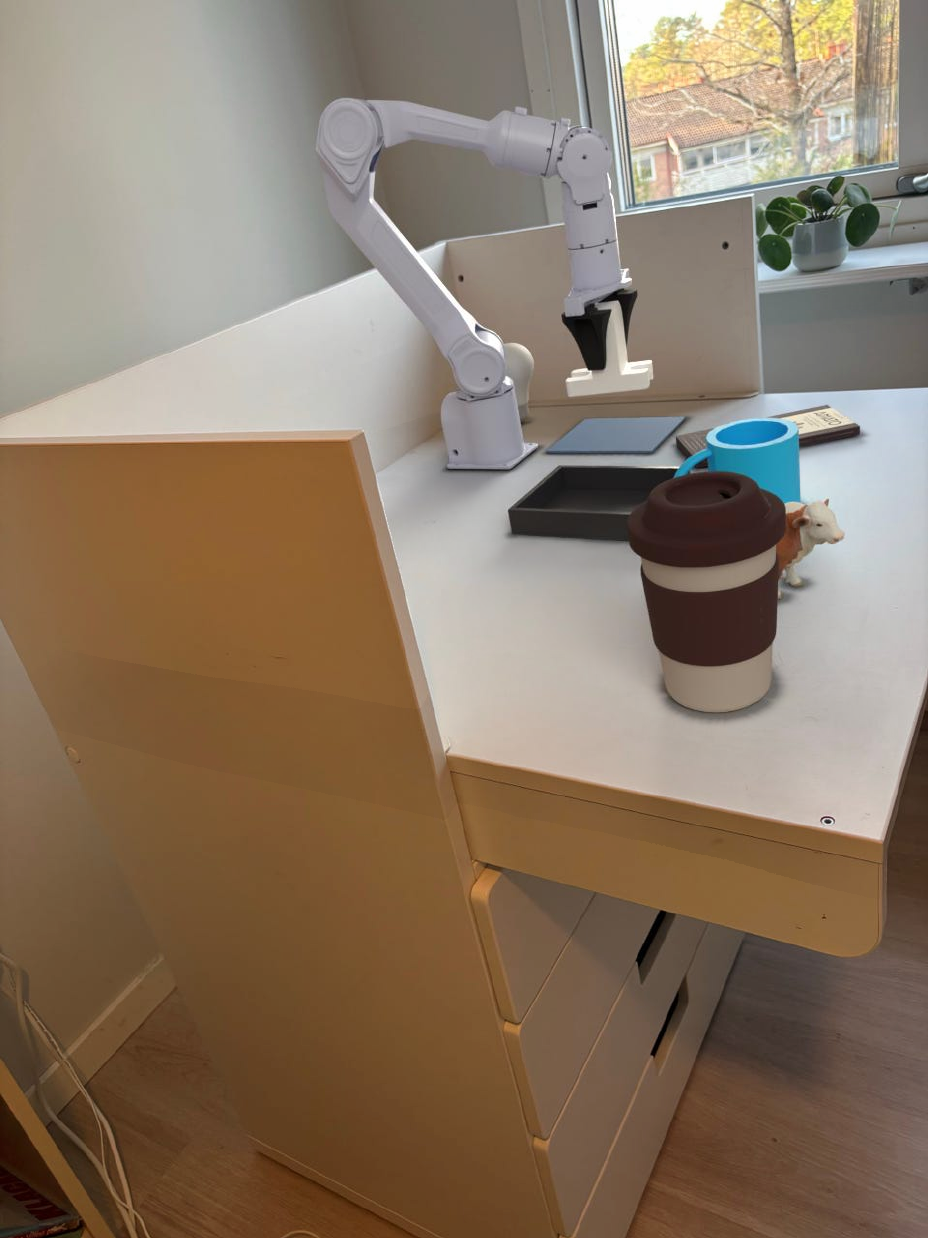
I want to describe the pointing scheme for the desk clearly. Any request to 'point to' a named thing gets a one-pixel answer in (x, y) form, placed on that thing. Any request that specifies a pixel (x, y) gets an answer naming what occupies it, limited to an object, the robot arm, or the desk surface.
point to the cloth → (617, 435)
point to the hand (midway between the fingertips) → (607, 361)
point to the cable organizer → (612, 363)
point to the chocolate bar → (810, 422)
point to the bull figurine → (804, 535)
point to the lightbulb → (519, 374)
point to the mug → (755, 454)
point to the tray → (586, 501)
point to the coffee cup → (711, 585)
